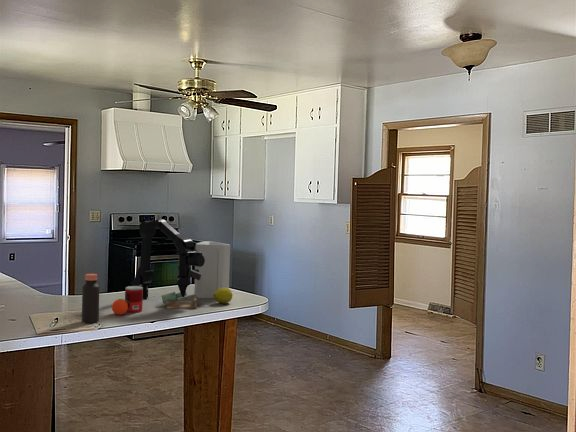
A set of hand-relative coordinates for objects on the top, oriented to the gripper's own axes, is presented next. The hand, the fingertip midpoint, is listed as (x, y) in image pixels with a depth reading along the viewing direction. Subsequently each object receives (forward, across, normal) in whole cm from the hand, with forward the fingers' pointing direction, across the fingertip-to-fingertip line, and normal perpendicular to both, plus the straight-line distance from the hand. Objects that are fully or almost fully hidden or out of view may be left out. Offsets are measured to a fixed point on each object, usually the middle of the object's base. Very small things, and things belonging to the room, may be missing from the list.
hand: (183, 296), depth 290 cm
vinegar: (+5, -33, +38) cm, 51 cm away
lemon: (+5, +6, -20) cm, 21 cm away
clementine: (+5, -19, +27) cm, 34 cm away
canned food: (+5, -12, +22) cm, 26 cm away
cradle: (+4, 0, +1) cm, 5 cm away
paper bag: (+5, +26, -13) cm, 29 cm away
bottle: (+2, 0, +10) cm, 10 cm away
